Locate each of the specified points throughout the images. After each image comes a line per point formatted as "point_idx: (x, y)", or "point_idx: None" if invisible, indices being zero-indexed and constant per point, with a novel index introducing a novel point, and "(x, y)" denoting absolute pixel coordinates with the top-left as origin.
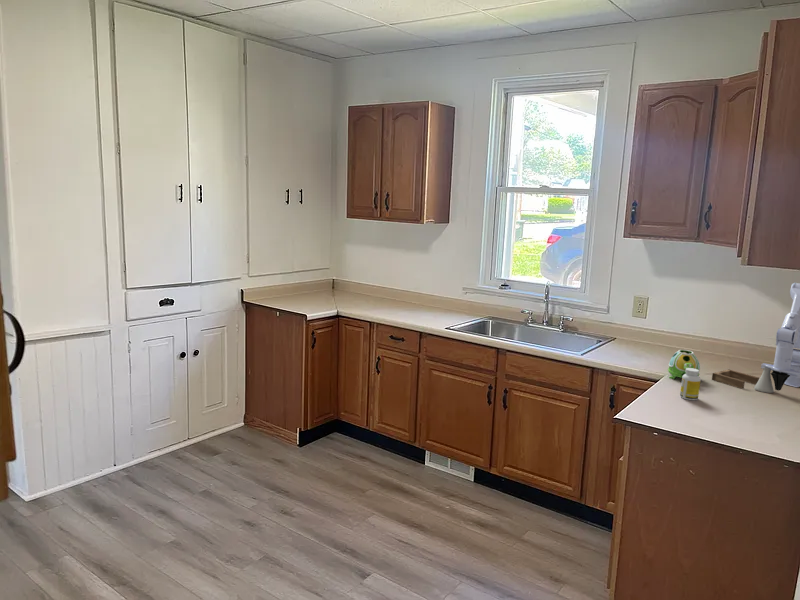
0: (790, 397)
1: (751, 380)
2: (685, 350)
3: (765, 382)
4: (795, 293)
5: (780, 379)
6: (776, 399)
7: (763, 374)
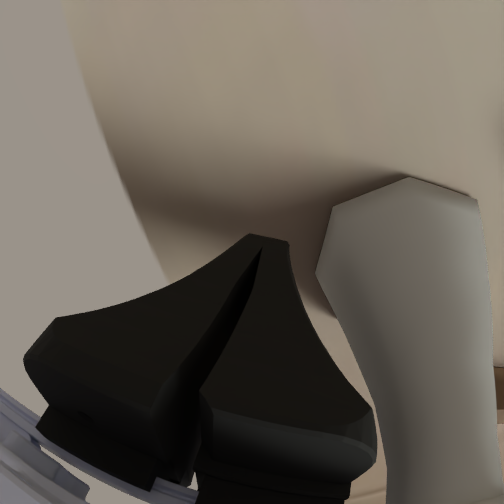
0: (163, 231)
1: None
2: None
3: (423, 283)
4: None
5: (154, 310)
6: (209, 28)
7: (486, 397)
